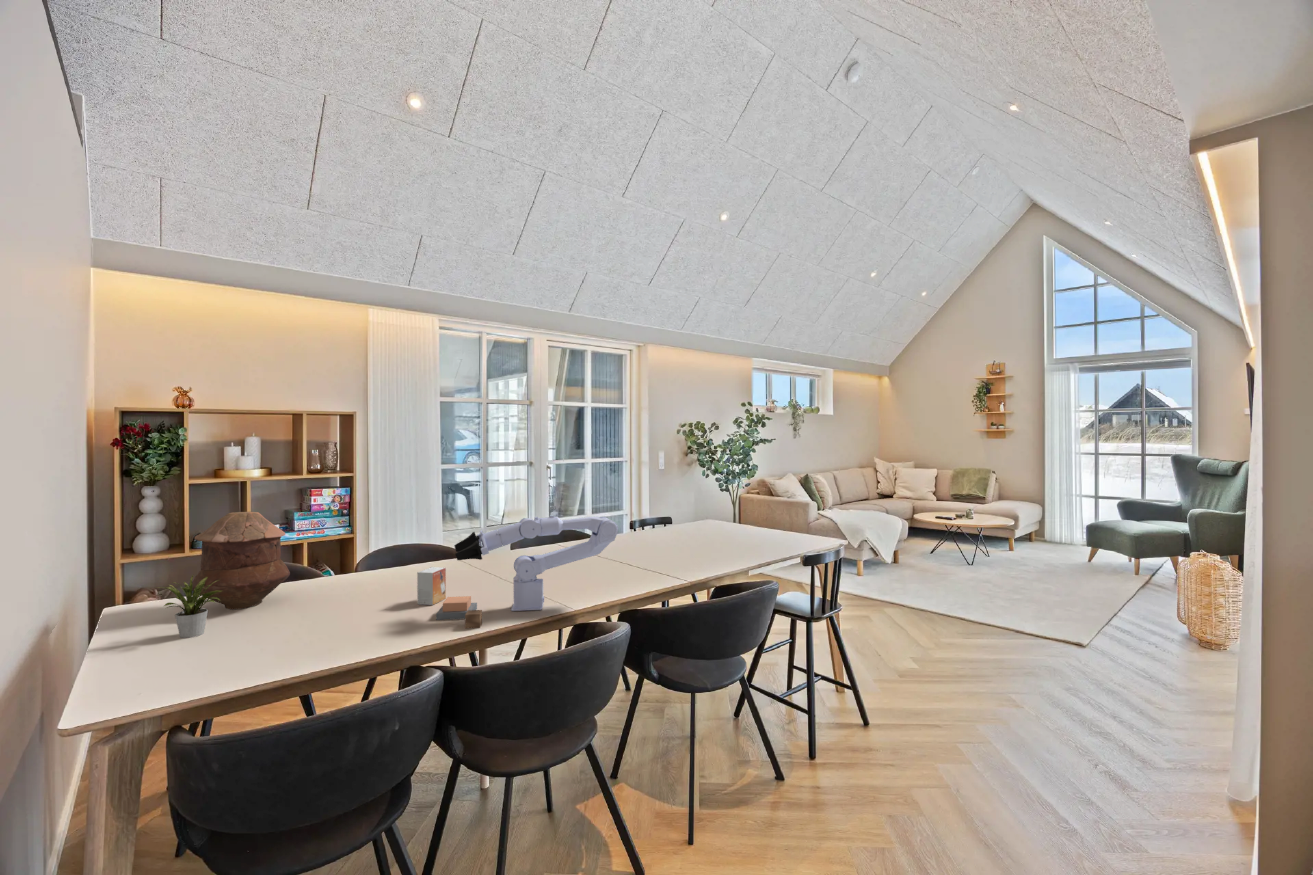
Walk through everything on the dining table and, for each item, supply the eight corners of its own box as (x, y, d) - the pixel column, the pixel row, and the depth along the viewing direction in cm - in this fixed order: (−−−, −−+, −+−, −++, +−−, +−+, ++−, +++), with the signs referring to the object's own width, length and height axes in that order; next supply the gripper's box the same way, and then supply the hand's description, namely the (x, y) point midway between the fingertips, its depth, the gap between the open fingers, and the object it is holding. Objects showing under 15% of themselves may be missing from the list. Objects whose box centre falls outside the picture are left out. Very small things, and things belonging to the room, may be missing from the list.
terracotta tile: (471, 604, 182) (471, 596, 182) (467, 610, 175) (467, 602, 175) (447, 604, 181) (447, 596, 181) (442, 611, 174) (442, 603, 174)
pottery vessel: (177, 621, 172) (176, 519, 172) (207, 598, 196) (207, 509, 195) (279, 611, 181) (279, 515, 181) (296, 590, 205) (296, 505, 205)
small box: (432, 605, 187) (432, 572, 187) (416, 604, 188) (416, 572, 188) (446, 598, 195) (446, 567, 195) (431, 597, 196) (431, 566, 196)
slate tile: (477, 610, 184) (476, 602, 183) (471, 620, 174) (471, 612, 174) (444, 611, 182) (443, 603, 182) (436, 622, 172) (436, 613, 172)
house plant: (164, 649, 149) (164, 585, 149) (144, 639, 156) (143, 578, 156) (229, 633, 161) (228, 574, 161) (207, 624, 169) (206, 568, 168)
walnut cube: (482, 623, 169) (482, 609, 169) (479, 628, 165) (479, 613, 165) (467, 624, 169) (467, 610, 169) (465, 628, 165) (465, 614, 165)
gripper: (493, 519, 188) (451, 533, 183) (498, 533, 174) (452, 548, 170) (500, 539, 189) (457, 553, 185) (505, 554, 176) (459, 570, 172)
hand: (455, 552), depth 178 cm, fingers open, 7 cm apart
